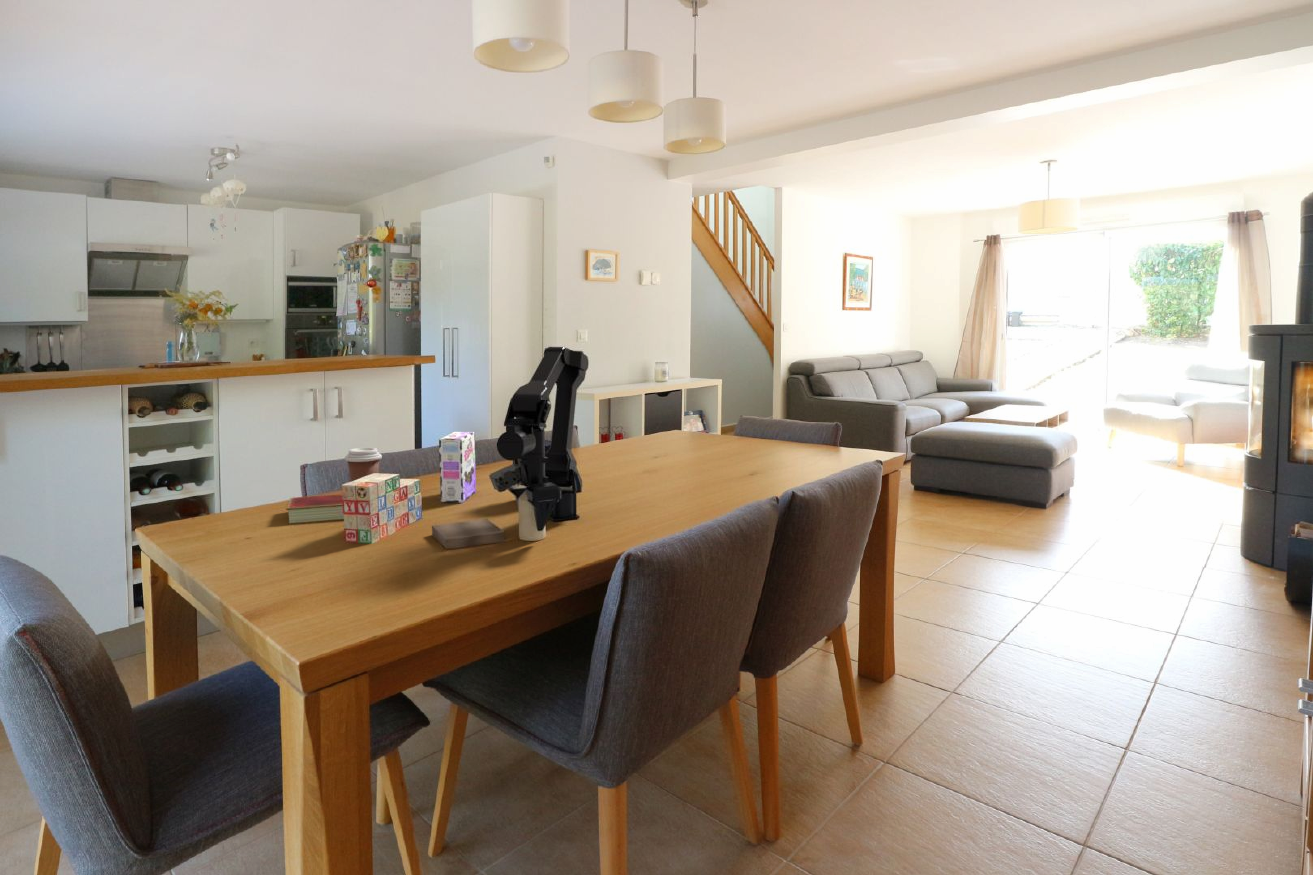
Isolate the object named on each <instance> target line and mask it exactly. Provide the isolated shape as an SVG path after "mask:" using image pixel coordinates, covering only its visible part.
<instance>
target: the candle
mask: <svg viewBox="0 0 1313 875" xmlns="http://www.w3.org/2000/svg"><path fill="white" fill-rule="evenodd" d="M527 500H529V499H528V498H527V495H526V491H525V492H524V493H523V494H522V495H521V496H520V497H519V498H518V505H517V508H518V507H519V508H518V537H519V540H522V541H526V542H535V541H536V542H537V541H540V540H544V539H545V538H546V529H547V528H546V526H545V527H544V529H543V531H538V530H537V526H536V521H535V514H534V508H533V506H532V505H531V504H530V503H529V502H528V501H527Z"/></svg>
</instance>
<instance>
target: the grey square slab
mask: <svg viewBox="0 0 1313 875" xmlns="http://www.w3.org/2000/svg"><path fill="white" fill-rule="evenodd" d="M431 535H432V537H434V538H435V540H437V542H439V543H440V544H441V545H442V547H443V548H445V549H446V550H452V549H453V550H454V549H458V548H466V547H474V546H481V545H488V544H497V543H503V542H506V539H505V538H506V536H505V531H504V530H503V529H501V528H500V527H499V526H497V525H496V524H495V523H493V521H490V520H489V518H485V519H477V520H469V521H459V522H452V523H445V524H435V525H431Z"/></svg>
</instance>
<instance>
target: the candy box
mask: <svg viewBox="0 0 1313 875" xmlns="http://www.w3.org/2000/svg"><path fill="white" fill-rule="evenodd" d="M475 441H476V440H475V431H453V432H452V433H450V434H447V435H445V436H443V437H440V438H438V446H439V447H438V450H439V455H438V456H439V479H440V481H439V483H440V487H439V488H440V503H459V504H460V503H462V504H463V503H465V502H466V500H468V499H469V498H470V497H471V496H472V495H473V494H475V493H476V492H477V473H476V448H475V447H476V446H475V444H476V442H475Z"/></svg>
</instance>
